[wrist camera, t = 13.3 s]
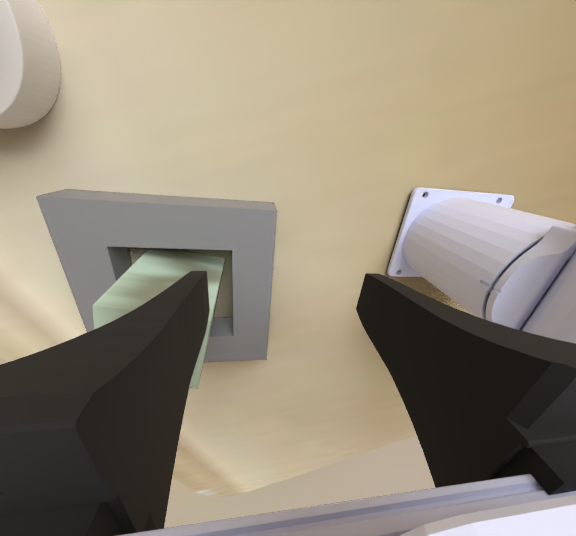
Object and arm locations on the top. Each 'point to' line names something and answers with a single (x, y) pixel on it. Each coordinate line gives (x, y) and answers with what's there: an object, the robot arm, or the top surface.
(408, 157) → the top surface
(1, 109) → the wall hook
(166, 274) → the sage green block
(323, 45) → the top surface
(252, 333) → the well block
